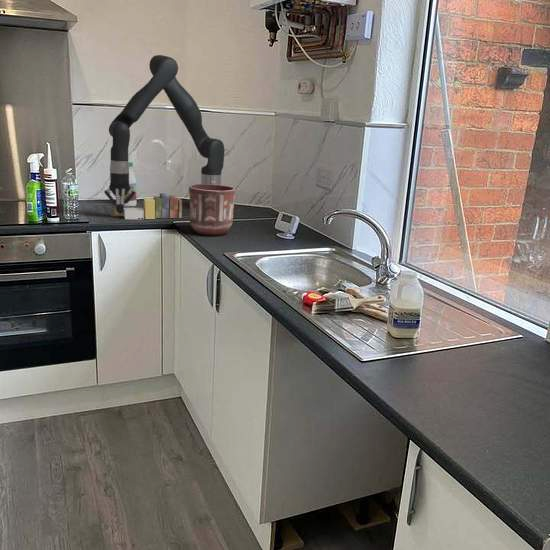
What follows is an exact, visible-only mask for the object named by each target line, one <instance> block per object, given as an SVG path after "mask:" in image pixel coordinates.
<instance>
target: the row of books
mask: <svg viewBox="0 0 550 550" xmlns="http://www.w3.org/2000/svg"><path fill="white" fill-rule="evenodd" d="M153 199H154V200H155V219H156V218H169V219H170V218H178V217H179V218H182V219H183V200H182V199H181V198H179V197H178V196H177V195H169V194H168V193H167V192H159V196H158V195H157V196H153ZM109 211H110V217H123V212H122V213H118V212H117V211H116V208H110V210H109ZM179 218H178V219H179Z"/></svg>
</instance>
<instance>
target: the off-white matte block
mask: <svg viewBox="0 0 550 550" xmlns="http://www.w3.org/2000/svg"><path fill="white" fill-rule="evenodd" d="M123 209H124V211H123V216H124V217H123V216H122V217H123V218H125V219H124V220H145V218H144V207H124V208H123ZM138 218H140V219H138ZM141 218H143V219H141Z"/></svg>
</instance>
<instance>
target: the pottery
mask: <svg viewBox="0 0 550 550" xmlns="http://www.w3.org/2000/svg"><path fill="white" fill-rule="evenodd" d="M236 190H237V189H236V188H234V187H233V186H230V185H225V184H221V185H216V184H201V183H196V184H194V183H193V184H191V185H189V187H188V194H189V222H190V226H191V228H192V229H193V230H194V232H195V233H196V234H199V235H202V236H208V237H209V236H210V237H211V236H212V237H214V236H224V235H225V234H226V233H228V231H229V230H230V229H231V227H232V225H233V221H234V205H235V196H236Z"/></svg>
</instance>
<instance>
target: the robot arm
mask: <svg viewBox="0 0 550 550" xmlns="http://www.w3.org/2000/svg"><path fill="white" fill-rule="evenodd" d="M149 70H150V73H151V74H152V76H151V78H150V80H149V81H148V82H147V83H146V84H145V85H144V86H143V87H142V88H140V89H139V90H138V91H137V92H135V94H133V96H132V97H131V98H130V99H129V100H128V102H127V104H126V105H125V106H124V107H123V109H122V110H121V111H120V113H119V114H118V115H117V116H116V117H115V118H114V119H113V120H112V121H111V123H109V124H110V125H109V127H108V133H109V135H110V136H111V137H112V146H111V148H110V164H109V181H110V182H109V187H108V188H107V189H105V190H103V193H104V194H105V195H106V197H107V198H108V199H109V200H110V201H111V203H113V204H115V207H116V208H115V209H116V211H117V212H118V213H122V212H123V211H124V209H123V208H125V206H123V205H124V204H125V203H128V202H129V201H130V199H131V198H132V197H133V196H134V194H135V191H133V190H131V189H130V186H129V163H128V162H129V147H130V139H131V130H130V128H131V127H132V125H133V124H134V123H136V122H138V121H139V119H140V118H141V117H142V115H143V114H144V112H145V111H146V110H147V108H148V107H149V106H150V105H151V103H152V102H153V101H154V99H155V98H156V97H157V96H158V95H159V94H160V93H161V92H162V91H164V93H165V94H166V96H167V97H168V100H169V101H170V103H171V105H172V107H173V108H174V110H175V112H176V113H177V116H178V117H179V119H180V120H181V122H182V123H183V125H184V127H185V128H186V130H187V132H188V133H189V135H190V137H191V138H192V140H193V143H194V145H195V147H196V150H197V151H198V153H199V154H200V156H201V157H203V158H205V159H207V162H206V163H207V164H205V165H204V166H202V167H201V170H200V184H216V185H222V170H223V168H224V165H225V164H224V162H225V161H224V160H225V145H224V142H223V141H222V140H220V139H217V138H211V137H210V136H209V135H208V133H207V132H206V131H205V129H204V126H203V115H202V113H201V109H200V108H199V106H198V104H197V102H196V100H195V99H194V98H193V96H192V95H191V94H190V92H189V91H187V90H186V89H185V87H183V85H181V83H180V82H179V81H178V79H177V77H176V76H177V74H178V71H179V66H178V63H177V61H176V59H174V58H172V57H170V56H167V55H162V54H157V55H154V56H152V57H151V58H150V60H149ZM128 191H129V195H128V197H127V198H126V199H125V200H124V196H125V195H126V194H127V193H128ZM111 193H112V194H113V196H114V198H115V199H114V198H113V197H112V195H111ZM119 196H120V198H119Z"/></svg>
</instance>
